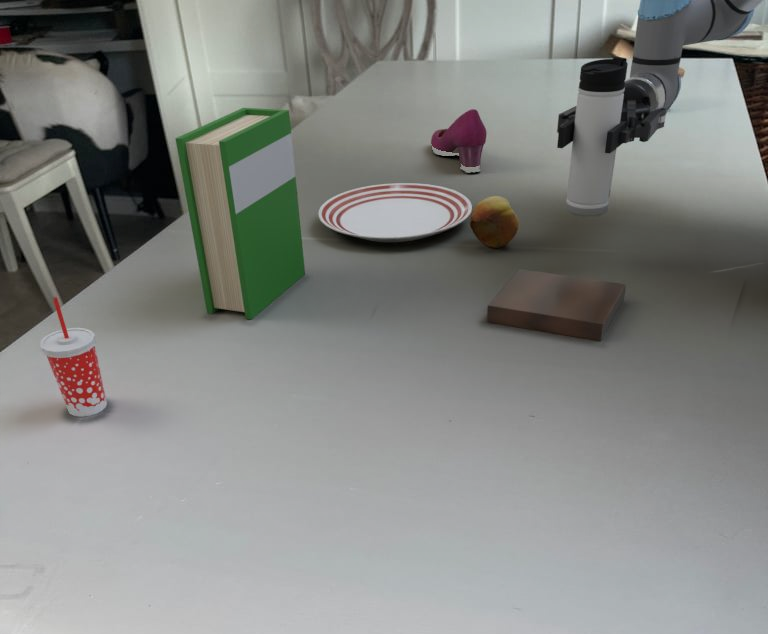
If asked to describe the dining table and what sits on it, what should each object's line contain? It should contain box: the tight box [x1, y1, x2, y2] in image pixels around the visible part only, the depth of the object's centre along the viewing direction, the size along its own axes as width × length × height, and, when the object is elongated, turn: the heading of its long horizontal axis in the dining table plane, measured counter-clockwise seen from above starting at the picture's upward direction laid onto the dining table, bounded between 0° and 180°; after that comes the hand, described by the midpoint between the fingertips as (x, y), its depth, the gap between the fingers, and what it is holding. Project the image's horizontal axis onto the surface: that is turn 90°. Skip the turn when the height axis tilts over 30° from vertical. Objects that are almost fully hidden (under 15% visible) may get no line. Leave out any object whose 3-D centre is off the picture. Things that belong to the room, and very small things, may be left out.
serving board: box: [486, 268, 627, 342], centre depth 114 cm, size 16×14×2 cm
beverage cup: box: [39, 296, 108, 418], centre depth 94 cm, size 6×6×14 cm
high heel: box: [430, 108, 488, 174], centre depth 174 cm, size 9×26×12 cm, turn 18°
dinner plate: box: [317, 182, 473, 243], centre depth 145 cm, size 27×27×3 cm
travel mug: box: [565, 56, 629, 217], centre depth 116 cm, size 6×7×20 cm
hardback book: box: [174, 107, 306, 320], centre depth 116 cm, size 18×7×24 cm, turn 158°
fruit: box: [469, 195, 520, 249], centre depth 133 cm, size 8×8×8 cm
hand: (584, 140), depth 112 cm, fingers closed on travel mug, 6 cm apart
